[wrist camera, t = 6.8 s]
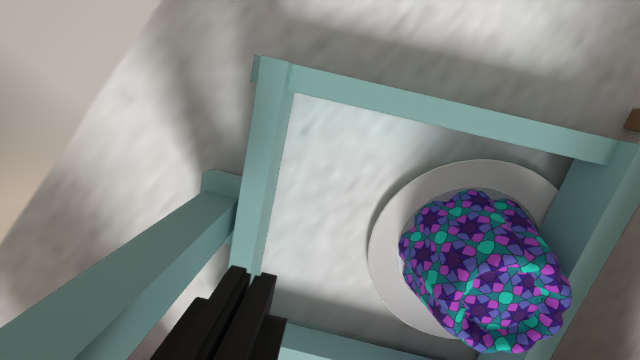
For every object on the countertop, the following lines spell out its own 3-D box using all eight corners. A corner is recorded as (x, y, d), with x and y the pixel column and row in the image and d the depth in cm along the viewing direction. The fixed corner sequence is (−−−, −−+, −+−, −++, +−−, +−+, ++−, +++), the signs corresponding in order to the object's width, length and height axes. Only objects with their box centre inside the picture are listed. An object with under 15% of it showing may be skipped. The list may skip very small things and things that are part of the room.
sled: (620, 143, 15) (1455, 287, 4) (491, 388, 20) (685, 778, 9) (225, 50, 16) (-109, -75, 4) (192, 313, 21) (-2, 591, 9)
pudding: (383, 144, 17) (399, 164, 12) (599, 169, 17) (710, 202, 12) (354, 316, 21) (357, 388, 15) (533, 342, 20) (597, 426, 15)
